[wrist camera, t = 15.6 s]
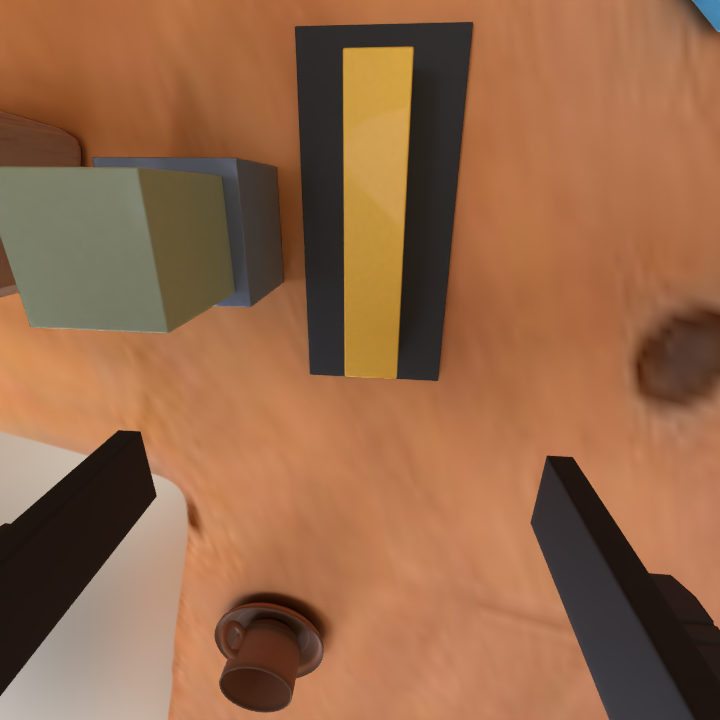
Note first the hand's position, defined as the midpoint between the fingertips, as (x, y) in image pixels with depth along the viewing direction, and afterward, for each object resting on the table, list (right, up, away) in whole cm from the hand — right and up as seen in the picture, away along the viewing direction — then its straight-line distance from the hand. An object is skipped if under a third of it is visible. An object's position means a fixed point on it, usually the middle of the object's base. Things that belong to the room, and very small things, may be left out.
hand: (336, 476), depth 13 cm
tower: (-8, +13, +15) cm, 21 cm away
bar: (+2, +12, +13) cm, 18 cm away
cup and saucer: (-9, -26, +32) cm, 42 cm away
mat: (+2, +13, +14) cm, 19 cm away
